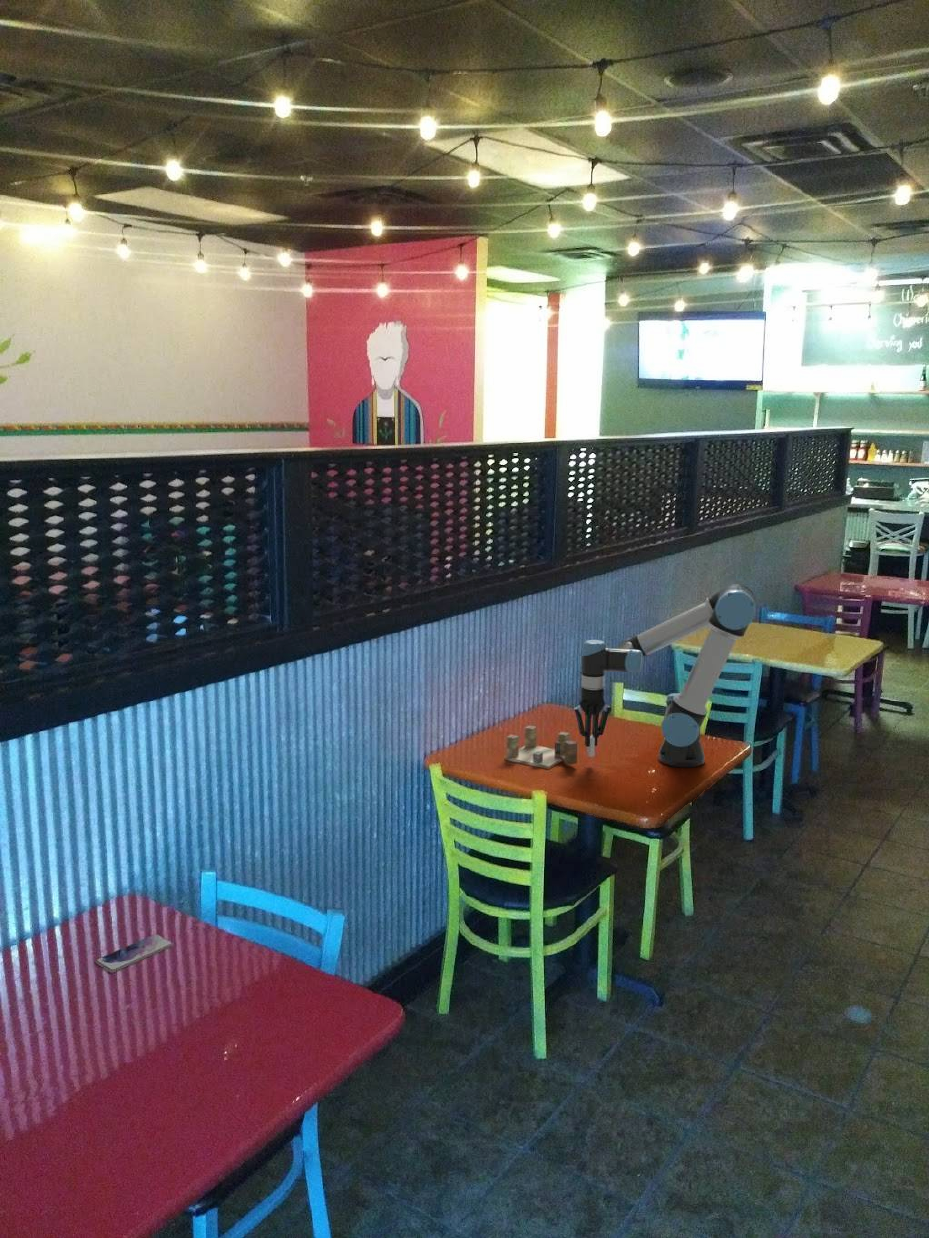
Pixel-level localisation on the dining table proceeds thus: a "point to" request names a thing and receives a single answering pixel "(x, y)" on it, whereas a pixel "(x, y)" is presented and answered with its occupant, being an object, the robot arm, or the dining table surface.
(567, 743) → the hinged leg
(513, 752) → the stool seat
